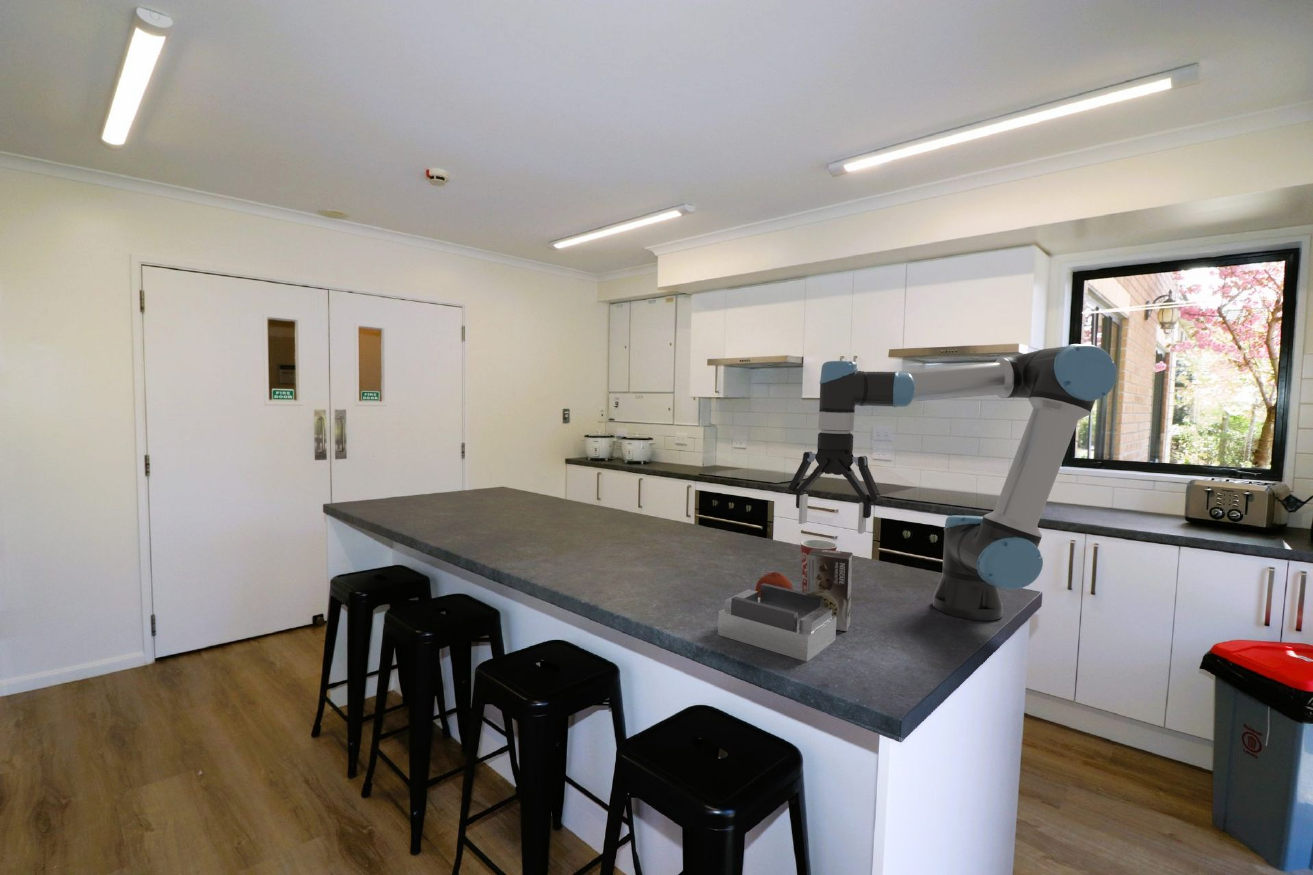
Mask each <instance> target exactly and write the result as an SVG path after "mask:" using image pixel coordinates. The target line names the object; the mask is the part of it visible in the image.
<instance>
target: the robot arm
mask: <svg viewBox="0 0 1313 875" xmlns="http://www.w3.org/2000/svg"><path fill="white" fill-rule="evenodd" d="M1117 376H1118V372H1117V366H1116V363H1115V362H1114V360H1113V359H1112V356H1111V355H1110V354H1109V353H1108V352H1107V351H1106V350H1105V349H1103V348H1102V347H1100V346H1097V345H1093V344H1088V343H1085V344H1083V343H1081V344H1079V343H1073V344H1068V345H1065V346H1059V347H1050V348H1043V349H1039V350H1035V351H1030V352H1027V353H1023V354H1018V355H1014V356H1005V357H998V358H997V359H996V360H995V362H986V363H976V364H975V363H974V364H966V365H965V364H964V365H954V366H953V365H952V366H943V367H934V368H933V367H931V368H920V369H909V370H900V371H899V370H898V371H864V370H858V365H857V362H855V361H852V360H851V361H850V360H849V361H847V360H829V361H825V362H824V363H822V365H821V372H820V380H819V386H820V387H819V410H818V421H817V422H818V424H817V429H818V430H819V431H820V432H818V433H817V445H816V447H817V448H816V449H817V450H816V453H815V452H813V451H805V452H803V454H802V461H801V463H800V464H799V467H798V469H797V471H796V473H795V475H794V476H793V478H792V480H791V481H790V484H789V485H788V491H790V492H793V493H795V496H796V497H795V508H796V509H798V524H799V525H803V524H807V522H808V503H809V502H808V500H809V494H807V493H806V492H807V491H808V490H809V489H810V487H811V486H812V485H813V484H814V483H815V482H816V481H817V480H818V479H819V478H820V477H821V476H822V475H823V474H825V475H831V474H833V475H834V476H843V477H844V478H846V480H847V481H848V483H849V484H850V486H851V487H852V488H853V490H854V491H855V493H856V494H857V495H858V497H859V498H860V500H861V502H858V519H857V520H858V521H857V534H864V533H866V531H867V519H869V518H870V517H871V516H872V505H873V504H872V503H873V502H877V501H880V500H881V499H882V496H881V493H880V491H879V489H878V487H877V484H876V482H875V480H874V478H873V475H872V473H871V471H870V468H869V464H868V463H869V462H868V457H867V456H866V455H861V456H854V453H853V452H854V451H853V450H854V436H855V435H854V434H853V433H851V432H854V428H855V415H856V413H855V412H856V411H855V410H856V406H859V407H869V406H871V407H892V408H897V407H898V408H899V407H900V408H901V407H908V406H910V404H911V403H914V402H924V401H935V400H936V401H937V400H948V399H951V400H952V399H960V398H962V399H963V398H973V397H983V396H984V397H986V396H995V395H996V396H997V397H999V398H1000V399H1009V398H1010V399H1014V398H1015V399H1017V398H1020V399H1027V400H1028V401H1029V403H1030V405H1031V407H1032V410H1031V413H1030V416H1029V418H1028V421H1027V423H1026V427H1025V429H1024V431H1023V434H1022V437H1021V439H1020V442H1019V445H1018V447H1017V449H1016V452H1015V456H1014V458H1013V461H1012V463H1011V466H1010V468H1009V470H1008V473H1007V476H1006V479H1005V481H1004V484H1003V487H1002V490H1001V492H1000V495H999V497H998V498H997V502H996V505H995V508H994V509H993V511H991V512H989V513H986V514H984V515H983V516H978V515H960V514H959V515H957V514H956V515H955V514H954V515H949V516H947V517H946V519H945V523H944V528H943V531H944V533H943V534H944V535H943V551H942V552H943V553H942V554H943V555H942V556H943V557H942V571H941V572H942V573H941V577H940V579H939V582H937V583H938V584H937V586H936V588H935V590H934V593H933V597H932V606H933V608H934V609H935V610H937V611H939V612H941V613H943V614H946V615H949V616H953V617H956V618H962V619H966V620H974V621H996V620H999V619H1001V618H1002V617H1003V613H1004V605H1003V603H1002V602H1003V601H1002V599H1001V596H1000V592H999V589H1002V590H1007V591H1015V590H1016V591H1017V590H1021V589H1023V588H1025V587H1028V586H1030V585H1031V584H1033V583H1034V582H1035V581H1036V580H1037V579H1038V577H1039V576H1040V575H1041V572H1042V569H1043V565H1044V564H1043V563H1044V561H1043V560H1044V558H1043V556H1042V554H1041V551H1040V548H1039V546H1040V543H1041V540H1042V538H1043V535H1042V533H1041V531H1040V529H1039V528H1038V525H1039V522H1040V520H1041V516H1042V514H1043V513H1044V512H1043V511H1044V509H1045V506H1046V504H1047V502H1048V499H1049V497H1050V494H1051V491H1052V490H1053V487H1054V484H1055V481H1056V478H1057V475H1058V473H1059V471H1060V468H1061V466H1062V463H1063V461H1064V459H1065V456H1066V453H1067V450H1068V447H1069V446H1070V443H1071V440H1072V438H1073V435H1074V434H1075V433H1074V432H1075V430H1076V427H1077V426H1078V423H1079V421H1080V420H1082V419H1084V418H1086V417H1088V416H1090V415H1091V412H1092V409H1093V407H1094V405H1095V402H1096V401H1097V400H1099V399H1102V398H1103V397H1105V396H1107V395H1108V394H1109V393H1110V392H1111V391H1112V389H1113V388H1114V386H1115V384H1116V381H1117ZM814 461H816V463H817V466H816V467H814V469H813V471H812V472H811V473H810V474H809V476H807V478H806V479H805V480H804V481H803V479H804V477H805V476H806V474H807V472H808V470H809V468H810V466H811V464H812V463H813V462H814ZM854 463H855V465H856V467H858V471H859V473H860V475H861V478H862V480H863V481H864V482H863V483H864V484H865V486H864V485H863V484H862V482H861V481H860V480H859V478H858V476H857V475H856V474H855V472H854V470H853V469H852V467H851V466H852V465H853V464H854ZM865 487H866V488H865Z"/></svg>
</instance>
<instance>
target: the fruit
mask: <svg viewBox="0 0 1313 875" xmlns="http://www.w3.org/2000/svg"><path fill="white" fill-rule="evenodd" d="M763 583H765V584H770V585H774V586H778V587H783V588H787V589H791V590H794V589H793V586H792V584H791V581H790V580H789V579H788V578H787V577H786V576H785V575H783V574H782V573H780V572H778V571H777V572H776V571H775V572H774V571H773V572H772V571H771V572H768V573H766V574H764V575H763V576H761V577H760V579H759V580H758V581H757V583H756V585H755V589H754V591H758V597H759V598H760V590H761V584H763Z"/></svg>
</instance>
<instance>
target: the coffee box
mask: <svg viewBox="0 0 1313 875" xmlns="http://www.w3.org/2000/svg"><path fill="white" fill-rule="evenodd" d="M852 569H853V552H849V551H841V550H836V551H834V550H825V549H815V548H813V549H812V550H811V551H810V553H809V554H808V555H807V593H809V594H813V595H817V596H822V597H823V607H824V608H828V609H832V616H836V631H843V632H847V631H848V629H849V628H850V624H851V610H852V609H851V607H852V606H851V604H852V603H851V602H852V579H853V578H852V577H853V573H852V572H853V570H852Z"/></svg>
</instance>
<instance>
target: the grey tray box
mask: <svg viewBox="0 0 1313 875" xmlns="http://www.w3.org/2000/svg"><path fill="white" fill-rule="evenodd" d="M717 617H718V622H717V635H718V636H721V637H725V638H727V639H731V640H735V641H738V642H741V643H744V644H747V645H749V646H750V645H751V646H754V647H757V648H761V649H764V650H767V651H770V652H773V653H777V654H781V655H784V656H786V657H790V658H793V659H797V660H800V661H803V662H806V663H807V662H809V661H810V660H812V659H813V658H814V657H815V656H817V655H818V654H819V653H821V652H822V651H824V649H826V648H827V647H829V645H831V644H832V643H834V642H835V641H836V636H837V634H836V633H837V630H836V616H832V609H828V608H824V607H823V597H822V596H817V595H813V594H809V593H804V592H802V591H798V590H795V589H793V590H791V589H787V588H783V587H778V586H774V585H770V584H765V583H763V584H761V590H760V598H759V597H758V591H755V589H753V590H752V589H749V588H748V589H746V590H743V591H741V592H739V593H737V594H735V595H733V596H731V597H728V598H727V599H725V600H724V608H723V609H721V610H719V611H718V616H717Z"/></svg>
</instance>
